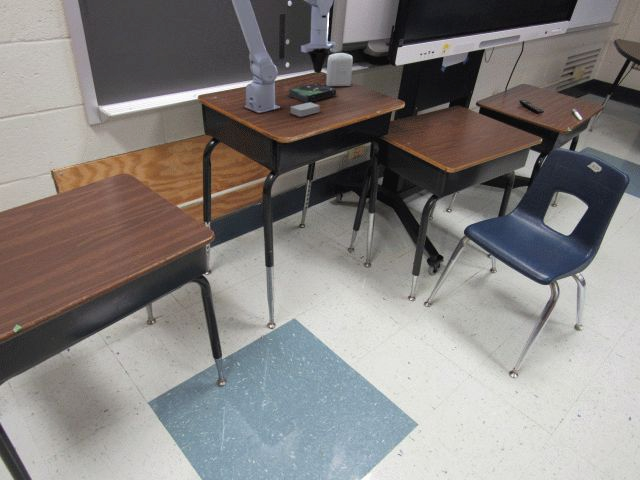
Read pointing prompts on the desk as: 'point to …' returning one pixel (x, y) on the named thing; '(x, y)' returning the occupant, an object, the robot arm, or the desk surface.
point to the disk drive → (312, 92)
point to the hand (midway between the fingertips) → (317, 72)
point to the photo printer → (339, 69)
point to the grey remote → (305, 109)
